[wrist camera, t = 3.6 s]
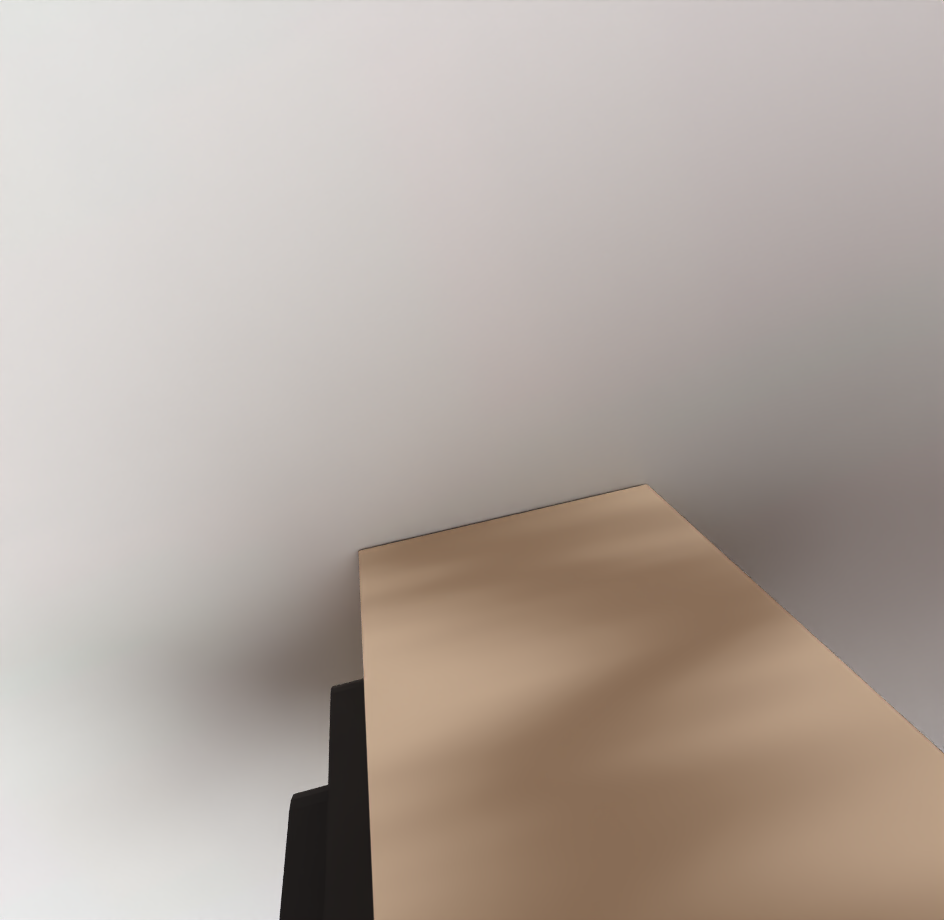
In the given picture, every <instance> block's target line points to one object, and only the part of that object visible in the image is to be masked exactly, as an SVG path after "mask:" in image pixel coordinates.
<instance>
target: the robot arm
mask: <svg viewBox="0 0 944 920" xmlns="http://www.w3.org/2000/svg"><path fill="white" fill-rule="evenodd" d="M844 664H845V663H844ZM854 673H855V672H854ZM855 674H856V673H855ZM865 683H866V682H865ZM876 693H877V692H876ZM887 703H888V702H887ZM898 713H899V712H898ZM908 722H909V721H908ZM909 723H910V722H909ZM919 732H920V731H919ZM920 733H921V732H920ZM930 742H931V741H930ZM941 752H942V751H941ZM280 920H374V905H373V882H372V858H371V835H370V811H369V788H368V764H367V741H366V717H365V694H364V679H361V680H357V681H353V682H349V683H345V684H341V685H337V686H333V687H332V688H331V702H330V739H329V776H328V785H326V786H322V787H318V788H315V789H311V790H307V791H303V792H300V793H296V794H294V795H293V797H292V799H291V804H290V810H289V821H288V832H287V843H286V854H285V865H284V876H283V887H282V898H281V909H280Z"/></svg>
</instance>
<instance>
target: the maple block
mask: <svg viewBox="0 0 944 920" xmlns="http://www.w3.org/2000/svg"><path fill="white" fill-rule="evenodd" d="M358 552H359V576H360V599H361V623H362V647H363V670H364V694H365V717H366V741H367V764H368V788H369V811H370V835H371V858H372V882H373V905H374V920H944V753H943V752H941V751H940V750H939V749H938V748H937V747H936V746H935V745H934V744H933V743H932V742H930V741H929V740H928V739H927V738H926V737H925V736H924V735H923V734H922V733H920V732H919V731H918V730H917V729H916V728H915V727H914V726H913V725H912V724H911V723H909V722H908V721H907V720H906V719H905V718H904V717H903V716H902V715H901V714H900V713H898V712H897V711H896V710H895V709H894V708H893V707H892V706H891V705H890V704H889V703H887V702H886V701H885V700H884V699H883V698H882V697H881V696H880V695H879V694H878V693H876V692H875V691H874V690H873V689H872V688H871V687H870V686H869V685H868V684H867V683H865V682H864V681H863V680H862V679H861V678H860V677H859V676H858V675H857V674H855V673H854V672H853V671H852V670H851V669H850V668H849V667H848V666H847V665H846V664H844V663H843V662H842V661H841V660H840V659H839V658H838V657H837V656H836V655H835V654H833V653H832V652H831V651H830V650H829V649H828V648H827V647H826V646H825V645H824V644H822V643H821V642H820V641H819V640H818V639H817V638H816V637H815V636H814V635H813V634H811V633H810V632H809V631H808V630H807V629H806V628H805V627H804V626H803V625H802V624H800V623H799V622H798V621H797V620H796V619H795V618H794V617H793V616H792V615H790V614H789V613H788V612H787V611H786V610H785V609H784V608H783V607H782V606H781V605H779V604H778V603H777V602H776V601H775V600H774V599H773V598H772V597H771V596H770V595H768V594H767V593H766V592H765V591H764V590H763V589H762V588H761V587H760V586H759V585H757V584H756V583H755V582H754V581H753V580H752V579H751V578H750V577H749V576H748V575H746V574H745V573H744V572H743V571H742V570H741V569H740V568H739V567H738V566H737V565H735V564H734V563H733V562H732V561H731V560H730V559H729V558H728V557H727V556H725V555H724V554H723V553H722V552H721V551H720V550H719V549H718V548H717V547H716V546H714V545H713V544H712V543H711V542H710V541H709V540H708V539H707V538H706V537H705V536H703V535H702V534H701V533H700V532H699V531H698V530H697V529H696V528H695V527H694V526H692V525H691V524H690V523H689V522H688V521H687V520H686V519H685V518H684V517H683V516H681V515H680V514H679V513H678V512H677V511H676V510H675V509H674V508H673V507H672V506H670V505H669V504H668V503H667V502H666V501H665V500H664V499H663V498H662V497H660V496H659V495H658V494H657V493H656V492H655V491H654V490H653V489H652V488H651V487H649V486H648V485H647V484H645V485H641V486H637V487H632V488H628V489H624V490H619V491H615V492H611V493H606V494H602V495H598V496H593V497H589V498H585V499H580V500H576V501H572V502H567V503H563V504H559V505H555V506H550V507H546V508H542V509H537V510H533V511H529V512H524V513H520V514H516V515H511V516H507V517H503V518H498V519H494V520H490V521H485V522H481V523H477V524H472V525H468V526H464V527H459V528H455V529H451V530H446V531H442V532H438V533H433V534H429V535H425V536H420V537H416V538H412V539H408V540H403V541H399V542H395V543H390V544H386V545H382V546H377V547H373V548H369V549H364V550H360V551H358Z"/></svg>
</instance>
